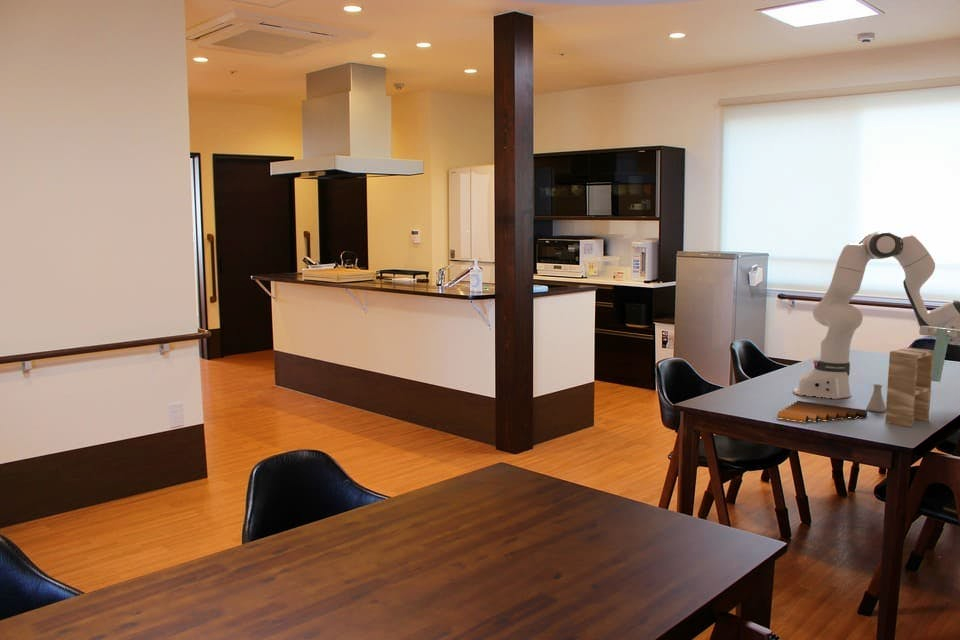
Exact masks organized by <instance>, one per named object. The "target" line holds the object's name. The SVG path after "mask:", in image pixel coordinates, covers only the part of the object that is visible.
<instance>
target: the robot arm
mask: <svg viewBox="0 0 960 640" xmlns="http://www.w3.org/2000/svg"><path fill="white" fill-rule="evenodd" d="M891 257H892V258H894V259H896V260H897V261H898V264H899V265H900V266H901V268H902V269H903V271H904V276H905V277H904V279H903V282H902V283H903V288H904V291H905V293H906V296H907V298H908V301H909V303H910V305H911V307H912V310H913V312H914V315H915V318H916V321H917V322H918V326H919V331H918V334H919V335H920V336H927V337H934V338H936V337H937V332H938V328H939V329H948V330H949V331H947V332H946V333H947V334H946V336H949V340H948V345H952V346H960V301H959V300H951V301H949V302H947V303H944V304H942V305H941V306H937V308H934V309H932V310H928V309H927V307H926V305H925V303H924V301H923V297H922V295H921V293H920V292H921V289H922V287H923V286H924V284H925V283H926V282H927V281H928V280H929V279H930V278H931V277H932V276H933V274H934V272H935V269H936V263H935V259H934V258H933V257H932V255H931V254H930V252H929V251H928V250H927V247H926V246H924V244H923V243H922V242H921V241H920V240H919V239H918V238H917V237H916V236H914V235H913V234H904V235H900V236H898V235H895V234H893V233H891V232H889V231H875V232H873V233H870V234H868V235H866V236H864V238H863V239H862V240H861V241H860V242H859V243H855V242H854V243H848V244H845V246H843V248H842V251H841V252H840V254H839V257H838V258H837V262H836V266H835V268H834V272H833V275H832V278H831V283H830V285H829V287H828V289H827V291H826V293H825V294H824V296H823V298H821V300H820V301H819V302H818V303H816V304H815V306H814V308H813V311H812V316H813V319H814V320H815V321H816V322H818V323H819V324H820V325H822V326H824V327H827V328H828V329H827V333H826V336H825V337H824V339H822V340H821V342H820V353H819V354H820V355H819V360H818V359H814V360H813V365H814V366H813V367H814V369H812V370H810V371H809V372H807V373H806V374H804V375H802V376H801V378H800V380H799V383H798V386H796V387H793V390H792V391H793V394H795V395H797V394H798V396H803V395H806V396H805V397H812V396H816V397H815V398H821V397H823V398H824V397H825V398H824V399H830V398H832V399H833V400H838V399H842V398H843V399H846V398H850V397H852V394H851V387H850V380H849V378H850V377H849V376H850V373H851V371H850V370H851V362H850V353H851V352H850V351H851V350H850V348H851V344H852V339H853V336H854V334H855V333H856V332H855V331H856V330H857V329H858V328H859V327H860V326H861V325H862V323H863V314H862V311H861V310H860V309H859V308H857V307H856V306H855V305H852V304H850V302H851V300H852V299H853V297H854V296H855V295H857V294H858V293H859V291H860V290H861V286H862V282H863V278H864V275H865V271H866V267H867V265H868V263H869V262H870V260H883V259H888V258H891ZM823 398H822V399H823Z"/></svg>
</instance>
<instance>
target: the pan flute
mask: <svg viewBox="0 0 960 640" xmlns="http://www.w3.org/2000/svg"><path fill="white" fill-rule="evenodd" d="M776 416H777V419H778V418H783V419H789V420H796V421H802V422H807V421H808V420H811V421H817V420H818V419H820V420H827V419H834V420H836V419H837V418H843V419H846V418H847V419H849V418H848V417H851V418H856V417H857V416H859V417H864V418H863V419H866V418H867V417H868V410H866V409H860V408H855V407H854V408H853V407H846V406H838V405H832V404H824V403H818V402H817V403H816V402H811V401H803V400H796V402H795V401H794V402H793V403H791V404H790V405H787V407H784V409H783V408H782V409H781V410H779V411H778V413H777V415H776ZM859 417H857V418H859ZM865 417H866V418H865ZM851 418H850V419H851ZM857 418H856V419H857ZM847 419H846V420H847ZM836 421H837V420H836ZM808 422H809V421H808ZM808 422H807V423H808ZM817 422H818V421H817Z"/></svg>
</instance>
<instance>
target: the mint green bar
mask: <svg viewBox="0 0 960 640" xmlns="http://www.w3.org/2000/svg"><path fill="white" fill-rule="evenodd" d="M947 331H949V330H948V329H939V328H938V332H937V337H935V343H934V348H933V350H934V353H933V367H932V381H931V382H938V383H940V382H941V379H942V375H943V370H944V365H945V358H946V354H947V349H948V345H949V344H948V340H949V336H946V334H947V333H946V332H947Z"/></svg>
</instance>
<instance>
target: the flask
mask: <svg viewBox="0 0 960 640" xmlns="http://www.w3.org/2000/svg"><path fill="white" fill-rule="evenodd" d="M882 387H883V384H879V383H874V384H873V392H872V395H871V397H870V400H869V402H868V403H867V406H866V408H865V410H867V411H870V412H876V413H884V412H885V413H886V405H885V404H886V403H885V402H884V398H883V395H882V393H883V392H882Z"/></svg>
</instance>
